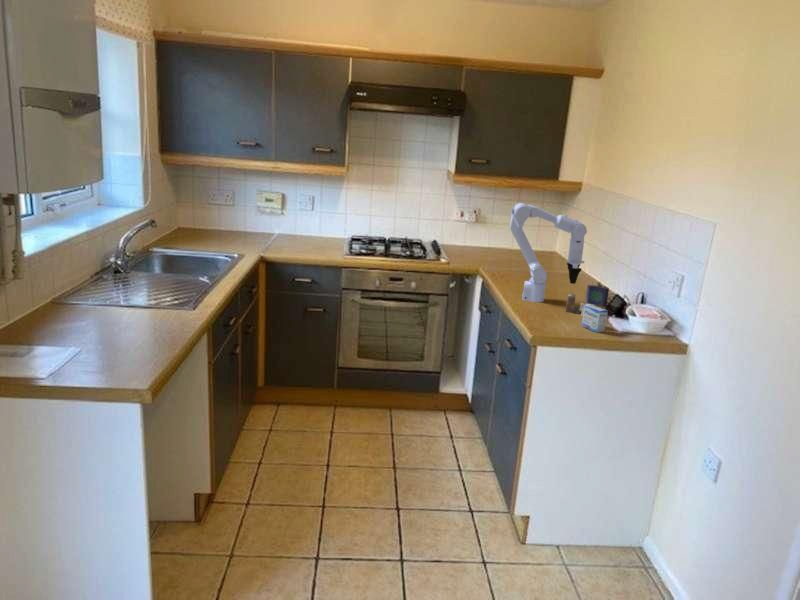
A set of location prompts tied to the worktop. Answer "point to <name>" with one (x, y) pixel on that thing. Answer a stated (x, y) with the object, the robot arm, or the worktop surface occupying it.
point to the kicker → (571, 304)
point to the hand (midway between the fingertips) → (572, 281)
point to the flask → (597, 294)
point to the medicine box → (594, 318)
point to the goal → (582, 308)
